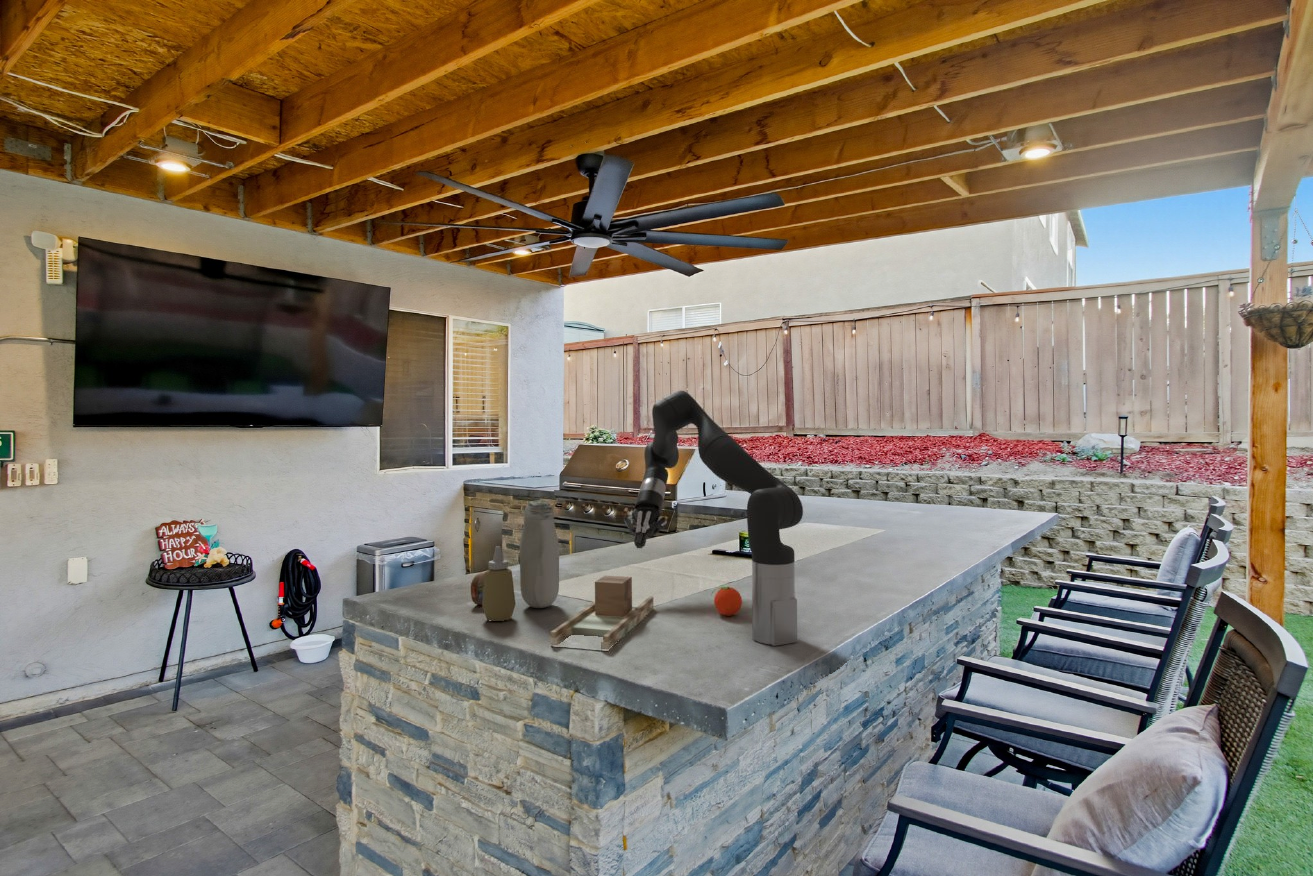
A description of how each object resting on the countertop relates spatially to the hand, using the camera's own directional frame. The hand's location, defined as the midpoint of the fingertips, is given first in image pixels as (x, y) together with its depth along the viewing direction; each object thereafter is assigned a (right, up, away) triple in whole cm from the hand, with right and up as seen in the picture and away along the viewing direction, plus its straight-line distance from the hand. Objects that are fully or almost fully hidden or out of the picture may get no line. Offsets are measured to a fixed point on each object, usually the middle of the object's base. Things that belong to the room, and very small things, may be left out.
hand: (638, 546), depth 183 cm
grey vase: (-26, -15, -6) cm, 31 cm away
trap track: (-7, -15, -24) cm, 29 cm away
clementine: (+22, -15, -16) cm, 31 cm away
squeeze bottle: (-34, -15, -18) cm, 41 cm away
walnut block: (-6, -13, -19) cm, 24 cm away
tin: (-41, -15, 0) cm, 43 cm away
